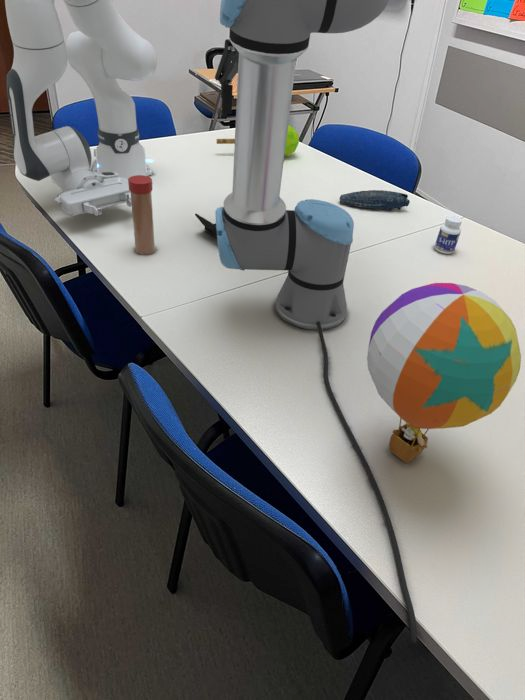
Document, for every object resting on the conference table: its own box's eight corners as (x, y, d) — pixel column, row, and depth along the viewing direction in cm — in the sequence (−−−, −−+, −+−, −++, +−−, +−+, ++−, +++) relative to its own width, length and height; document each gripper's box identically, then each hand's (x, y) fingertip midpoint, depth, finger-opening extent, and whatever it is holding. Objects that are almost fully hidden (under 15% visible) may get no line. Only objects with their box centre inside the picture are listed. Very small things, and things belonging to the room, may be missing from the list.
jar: (134, 254, 126) (128, 184, 115) (137, 245, 130) (131, 177, 119) (153, 255, 127) (149, 185, 116) (156, 246, 130) (151, 178, 119)
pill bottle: (433, 251, 139) (442, 220, 133) (435, 243, 143) (444, 213, 137) (453, 256, 138) (464, 225, 132) (454, 247, 142) (465, 217, 136)
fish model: (408, 214, 157) (412, 198, 153) (339, 207, 158) (341, 191, 154) (406, 206, 162) (410, 190, 159) (339, 199, 163) (341, 183, 160)
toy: (317, 443, 83) (351, 282, 64) (393, 393, 94) (441, 242, 75) (417, 530, 72) (494, 366, 53) (490, 462, 83) (575, 305, 64)
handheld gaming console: (252, 231, 136) (235, 208, 128) (239, 253, 135) (221, 232, 127) (220, 222, 143) (201, 200, 134) (207, 244, 141) (188, 223, 133)
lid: (127, 193, 116) (126, 183, 115) (130, 184, 120) (129, 174, 119) (151, 194, 117) (150, 184, 115) (153, 185, 121) (153, 175, 119)
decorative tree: (213, 119, 187) (294, 118, 192) (214, 148, 193) (292, 147, 198) (219, 133, 173) (306, 132, 178) (220, 165, 179) (303, 163, 185)
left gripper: (49, 186, 130) (75, 205, 123) (121, 170, 142) (149, 187, 134) (53, 209, 134) (79, 229, 126) (123, 193, 146) (151, 210, 138)
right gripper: (304, 26, 110) (293, 131, 123) (225, 10, 123) (222, 106, 136) (279, 27, 106) (271, 136, 119) (200, 11, 119) (200, 110, 132)
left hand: (116, 207), depth 130 cm, fingers open, 8 cm apart
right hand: (245, 120), depth 127 cm, fingers open, 13 cm apart
